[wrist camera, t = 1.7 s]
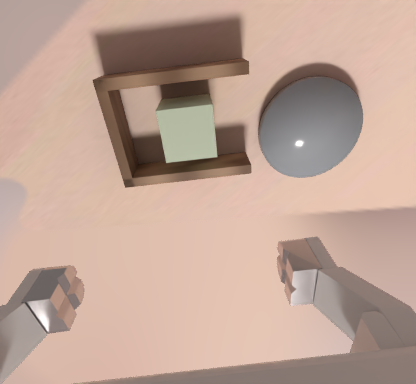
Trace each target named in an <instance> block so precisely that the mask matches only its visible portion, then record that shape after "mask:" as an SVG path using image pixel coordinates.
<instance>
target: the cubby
mask: <svg viewBox="0 0 416 384" xmlns="http://www.w3.org/2000/svg"><path fill="white" fill-rule="evenodd" d="M245 74H249V61H247V60H245V59H243V58H242V59H233V60H225V61H217V62H208V63H200V64H192V65H184V66H175V67H167V68H159V69H150V70H142V71H134V72H125V73H117V74H109V75H103V76H101V77H99V78H96V79H94V80H93V83H94V87H95V90H96V93H97V96H98V100H99V103H100V106H101V109H102V113H103V116H104V119H105V123H106V126H107V129H108V132H109V136H110V139H111V142H112V145H113V149H114V152H115V155H116V158H117V162H118V165H119V168H120V171H121V175H122V178H123V181H124V185H125V188H126V187H135V186H144V185H153V184H161V183H170V182H179V181H188V180H196V179H205V178H214V177H223V176H232V175H240V174H249V173H251V163H250V161H249V159H248V157H247V154H246V152H242V153H233V154H225V155H217V157H213V158H205V159H196V160H187V161H179V162H170V163H166V161H164V162H155V163H147V164H138V161H137V158H136V154H135V150H134V146H133V142H132V139H131V135H130V131H129V127H128V123H127V120H126V116H125V112H124V108H123V104H122V101H121V97H120V93H119V90H120V89H128V88H136V87H145V86H153V85H161V84H170V83H178V82H186V81H195V80H203V79H211V78H220V77H228V76H237V75H245Z"/></svg>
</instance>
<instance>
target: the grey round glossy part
mask: <svg viewBox="0 0 416 384" xmlns="http://www.w3.org/2000/svg"><path fill="white" fill-rule="evenodd" d="M362 124H363V111H362V106H361V103H360V100H359V98H358V96H357V95H356V93H355V92H354V91H353V90H352V89H351V88H350V87H349V86H348V85H346V84H345V83H343V82H341V81H338V80H336V79H332V78H329V77H323V76H311V77H306V78H302V79H299V80H297V81H295V82H293V83H291V84H289V85H287V86H286V87H284V88H283V89H282V90H281V91H279V92H278V93H277V94H276V95H275V96H274V97H273V98H272V100H271V101H270V102H269V104H268V105H267V107H266V108H265V110H264V112H263V115H262V117H261V120H260V124H259V131H258V138H259V144H260V148H261V151H262V153H263V155H264V156H265V158H266V160H267V161H268V163H269V164H270V165H271V166H272V167H273V168H274V169H275V170H277V171H278V172H280V173H282V174H284V175H287V176H291V177H298V178H304V177H312V176H316V175H319V174H322V173H324V172H326V171H328V170H330V169H332V168H333V167H335V166H336V165H338V164H339V163H340V162H341V161H342V160H343V159H344V158H345V157H346V156H347V155H348V154H349V153H350V152H351V150H352V149H353V147H354V146H355V144H356V142H357V140H358V138H359V135H360V133H361V129H362Z"/></svg>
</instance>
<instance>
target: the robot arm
mask: <svg viewBox="0 0 416 384" xmlns="http://www.w3.org/2000/svg"><path fill="white" fill-rule="evenodd" d="M278 252H279V254H280V255H279V256H278V257H277V266H278V272H279V276H280V279H281V282H283V283H284V284H285V293H286V296H287V298H288V301H289V304H290V306H294V305H306V304H313V305H314V306H315V307H316V308H317V309H318V310H319V311H320V312H321V313H322V314H324V315H325V316H326V317H327V318H328V319H329V320H330V321H331V322H332V323H334V324H335V325H336V326H337V327H338V328H339V329H340V330H341V331H343V332H344V333H345V334H346V335H347V336H348V337H349V338H350V339H351V340H352V341H353V344H352V348H351V351H350V353H346V354H337V355H328V356H320V357H310V358H301V359H292V360H282V361H274V362H264V363H256V364H247V365H238V366H228V367H219V368H211V369H201V370H193V371H183V372H174V373H165V374H156V375H147V376H138V377H129V378H120V379H112V380H103V381H93V382H85V383H75V384H416V313H415V312H414V311H413V309H412V308H411V307H410V306H408V305H407V304H405V303H403V302H402V301H400V300H398V299H396V298H395V297H393V296H391V295H390V294H388V293H386V292H384V291H383V290H381V289H379V288H377V287H376V286H374V285H372V284H370V283H369V282H367V281H365V280H364V279H362V278H360V277H358V276H357V275H355V274H353V273H352V272H350V271H348V270H346V269H345V268H343V267H337V266H336V264H335V262H334V261H333V259H332V257H331V256H330V254H329V253H328V251H327V250H326V248H325V246H324V245H323V243H322V242H321V240H320V239H319V238H318V237H311V238H304V239H296V240H288V241H280V242H278ZM76 274H77V271H76V269H75V267H74V266H59V267H48V268H40V269H33V270H31V271H29V273H28V274H27V276H26V277H25V279H24V280H23V281H22V283H21V284H20V286H19V287H18V289H17V290H16V291H15V293H14V294H13V296H12V297H11V299H10V300H9V302H8V303H7V304H6V305H2V306H0V384H2V383H3V382H4V381H5V380H6V379H7V378H8V377H9V375H10V374H11V373H12V372H13V371H14V370H15V369H16V368H17V367H18V366H19V365H20V363H22V362H23V360H24V359H25V358H26V357H27V356H28V355H29V354H30V353H31V352H32V351H33V350H34V349H35V348H36V346H38V344H39V343H40V342H41V341H42V340H43V339H44V338H45V337H46V336H47V334H49V333H56V332H62V331H69V330H70V329H71V326H72V324H73V322H74V319H75V317H76V312H75V309H76V308H77V307H78V306H79V305H80V304H81V302H82V300H83V296H84V285H83V283H82V281H81V279H79V278H77V277H76Z"/></svg>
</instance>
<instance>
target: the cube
mask: <svg viewBox="0 0 416 384" xmlns="http://www.w3.org/2000/svg"><path fill="white" fill-rule="evenodd" d="M156 115H157V120H158V124H159V129H160V134H161V139H162V144H163V149H164V154H165V159H166V163H170V162H179V161H187V160H196V159H205V158H213V157H217V147H216V136H215V125H214V115H213V104H212V101H211V97H210V94H203V95H194V96H186V97H177V98H169V99H162V100H161V102H160V104H159V106H158V108H157V110H156Z"/></svg>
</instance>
